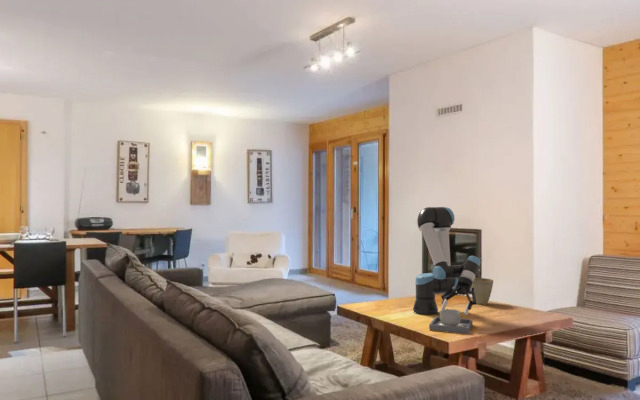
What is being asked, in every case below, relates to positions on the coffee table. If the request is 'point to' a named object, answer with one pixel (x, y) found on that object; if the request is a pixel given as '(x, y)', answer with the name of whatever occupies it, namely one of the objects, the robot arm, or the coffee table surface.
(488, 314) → the coffee table surface
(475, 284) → the plant pot
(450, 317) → the teacup
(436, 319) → the tray
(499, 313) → the coffee table surface
